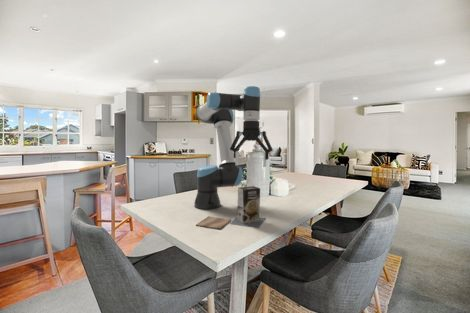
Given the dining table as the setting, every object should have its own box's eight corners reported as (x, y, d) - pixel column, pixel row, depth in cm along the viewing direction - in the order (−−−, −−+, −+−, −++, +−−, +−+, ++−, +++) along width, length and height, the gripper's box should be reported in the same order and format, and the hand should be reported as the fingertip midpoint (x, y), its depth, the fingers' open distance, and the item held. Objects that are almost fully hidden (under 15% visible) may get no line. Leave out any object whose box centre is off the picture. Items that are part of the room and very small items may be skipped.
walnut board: (196, 225, 105) (196, 224, 105) (208, 217, 116) (208, 216, 116) (220, 229, 101) (220, 228, 101) (230, 220, 112) (230, 219, 112)
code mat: (229, 223, 108) (229, 223, 108) (239, 214, 121) (239, 214, 121) (258, 228, 103) (258, 227, 103) (266, 218, 116) (266, 217, 116)
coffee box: (243, 224, 107) (243, 189, 106) (236, 219, 113) (237, 187, 112) (260, 221, 111) (260, 188, 110) (252, 217, 117) (253, 185, 116)
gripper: (223, 120, 109) (223, 165, 111) (276, 119, 101) (275, 168, 103) (229, 121, 116) (228, 163, 118) (279, 121, 108) (278, 166, 110)
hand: (250, 165), depth 111 cm, fingers open, 13 cm apart
